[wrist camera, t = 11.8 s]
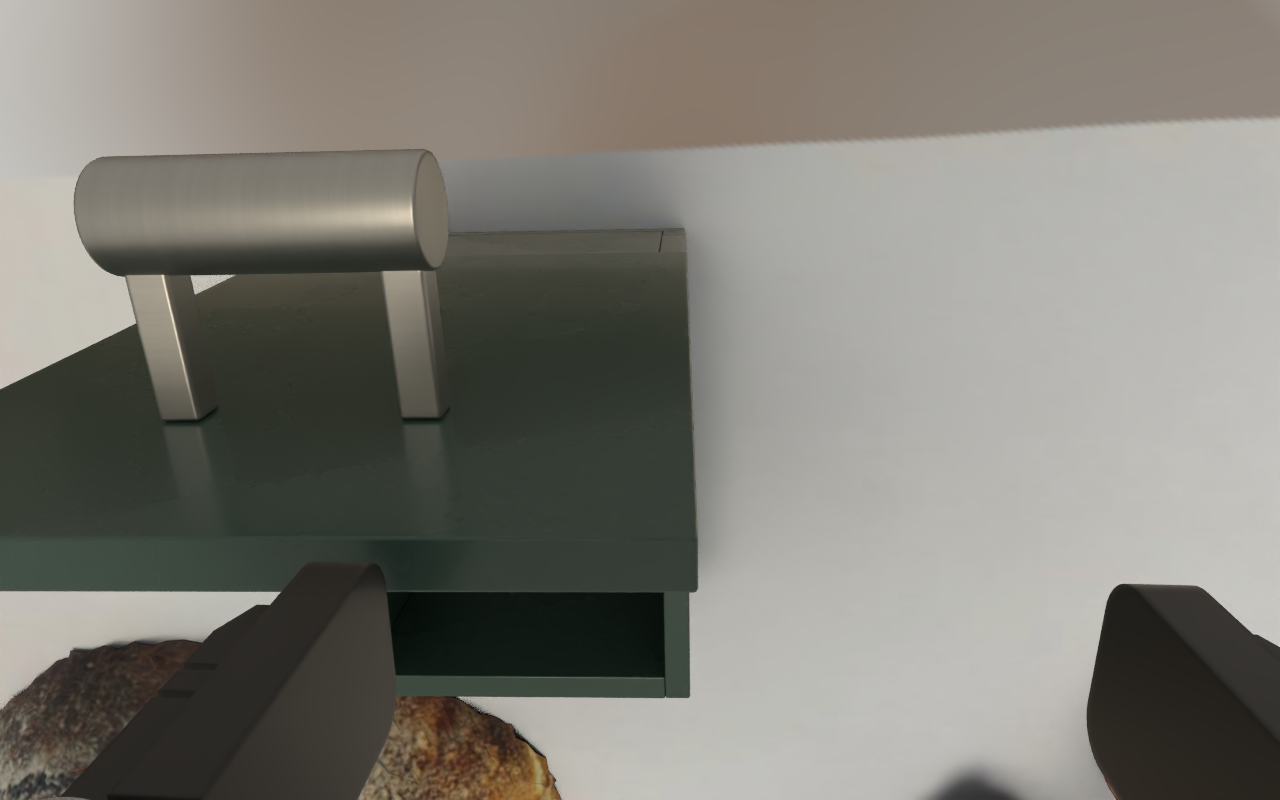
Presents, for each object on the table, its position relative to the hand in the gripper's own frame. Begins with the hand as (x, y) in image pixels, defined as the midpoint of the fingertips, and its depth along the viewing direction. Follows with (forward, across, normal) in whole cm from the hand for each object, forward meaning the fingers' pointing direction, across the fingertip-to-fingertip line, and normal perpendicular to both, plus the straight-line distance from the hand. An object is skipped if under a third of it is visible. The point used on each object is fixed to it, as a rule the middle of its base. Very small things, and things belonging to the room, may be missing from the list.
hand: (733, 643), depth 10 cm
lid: (+9, +7, 0) cm, 11 cm away
